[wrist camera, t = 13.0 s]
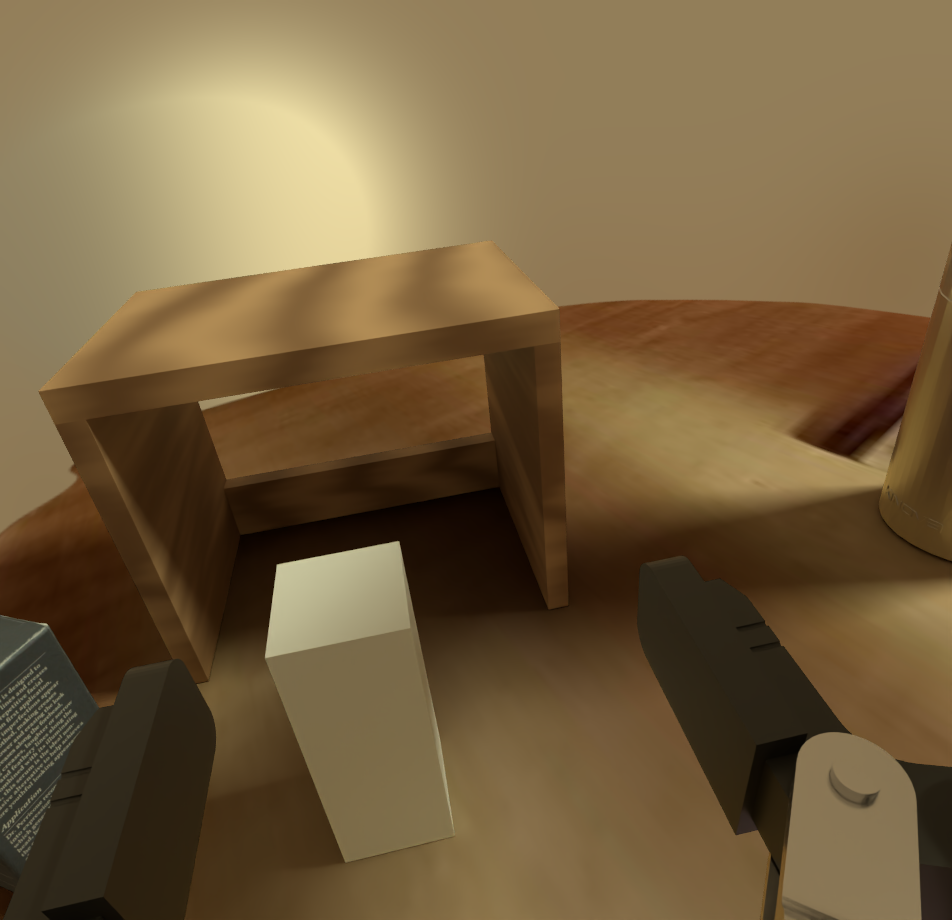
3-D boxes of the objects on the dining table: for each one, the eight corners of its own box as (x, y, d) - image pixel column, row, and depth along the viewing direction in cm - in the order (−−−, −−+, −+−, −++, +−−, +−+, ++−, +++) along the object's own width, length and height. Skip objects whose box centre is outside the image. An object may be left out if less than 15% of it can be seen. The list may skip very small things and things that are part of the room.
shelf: (511, 475, 49) (491, 240, 40) (568, 605, 37) (559, 309, 28) (226, 528, 47) (136, 292, 38) (185, 685, 34) (38, 391, 25)
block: (440, 740, 30) (399, 540, 24) (454, 836, 26) (410, 627, 20) (344, 762, 30) (277, 564, 23) (345, 863, 26) (265, 658, 20)
